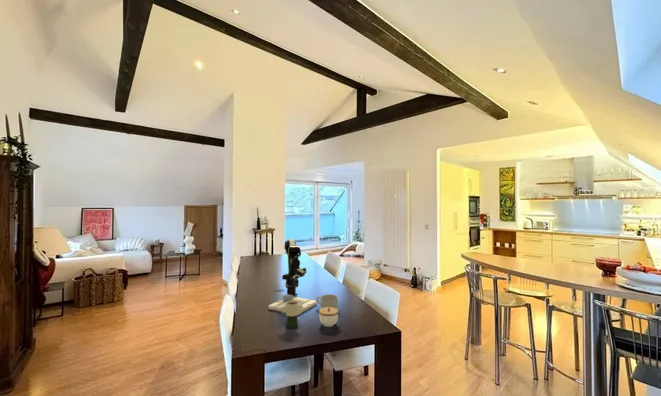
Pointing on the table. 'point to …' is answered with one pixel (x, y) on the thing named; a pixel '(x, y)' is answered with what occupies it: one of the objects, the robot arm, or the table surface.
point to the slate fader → (287, 297)
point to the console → (304, 302)
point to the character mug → (292, 313)
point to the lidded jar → (328, 316)
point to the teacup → (328, 301)
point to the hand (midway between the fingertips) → (293, 287)
